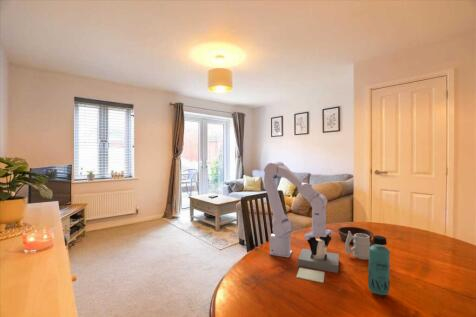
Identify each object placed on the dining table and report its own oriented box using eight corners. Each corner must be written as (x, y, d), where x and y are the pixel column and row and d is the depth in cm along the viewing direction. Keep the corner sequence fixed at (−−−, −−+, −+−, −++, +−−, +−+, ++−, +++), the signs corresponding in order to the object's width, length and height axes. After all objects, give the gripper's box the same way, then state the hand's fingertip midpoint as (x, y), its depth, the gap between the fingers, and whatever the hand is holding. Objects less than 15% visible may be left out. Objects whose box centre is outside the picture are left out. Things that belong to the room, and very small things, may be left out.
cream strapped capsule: (309, 259, 108) (309, 239, 107) (317, 257, 110) (317, 237, 110) (321, 266, 101) (321, 245, 101) (330, 264, 103) (330, 243, 103)
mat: (296, 277, 94) (296, 276, 94) (299, 268, 101) (299, 267, 101) (323, 283, 90) (323, 281, 90) (324, 273, 97) (324, 272, 97)
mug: (374, 259, 109) (375, 233, 109) (349, 260, 108) (349, 234, 108) (364, 252, 117) (365, 228, 116) (341, 253, 116) (341, 228, 116)
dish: (352, 232, 147) (352, 223, 147) (384, 245, 126) (384, 235, 126) (328, 235, 141) (328, 227, 141) (358, 249, 120) (358, 240, 120)
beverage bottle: (363, 289, 86) (364, 233, 85) (381, 288, 86) (382, 233, 86) (375, 300, 79) (376, 240, 79) (394, 299, 80) (395, 239, 79)
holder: (297, 265, 104) (297, 259, 103) (302, 254, 115) (302, 248, 114) (338, 273, 97) (338, 265, 97) (338, 260, 108) (338, 254, 108)
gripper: (312, 227, 99) (312, 260, 99) (338, 222, 105) (338, 253, 105) (301, 222, 105) (300, 253, 106) (326, 218, 111) (325, 247, 112)
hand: (318, 253), depth 106 cm, fingers closed on cream strapped capsule, 5 cm apart
